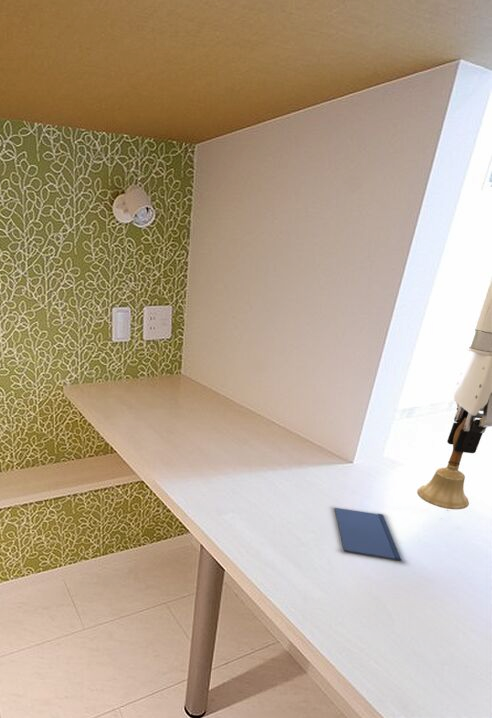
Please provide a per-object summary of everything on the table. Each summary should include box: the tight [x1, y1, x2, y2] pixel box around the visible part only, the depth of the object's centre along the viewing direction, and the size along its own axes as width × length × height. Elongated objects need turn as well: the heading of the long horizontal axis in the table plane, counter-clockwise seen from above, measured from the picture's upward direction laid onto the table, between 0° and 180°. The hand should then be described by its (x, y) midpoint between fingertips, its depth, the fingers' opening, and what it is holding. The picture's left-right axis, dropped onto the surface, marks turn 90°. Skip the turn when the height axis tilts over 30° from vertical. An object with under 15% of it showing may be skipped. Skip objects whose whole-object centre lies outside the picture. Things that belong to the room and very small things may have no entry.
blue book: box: [334, 507, 402, 562], centre depth 90 cm, size 10×16×1 cm, turn 164°
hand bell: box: [416, 418, 470, 510], centre depth 79 cm, size 8×8×16 cm
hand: (460, 447), depth 77 cm, fingers closed on hand bell, 2 cm apart
